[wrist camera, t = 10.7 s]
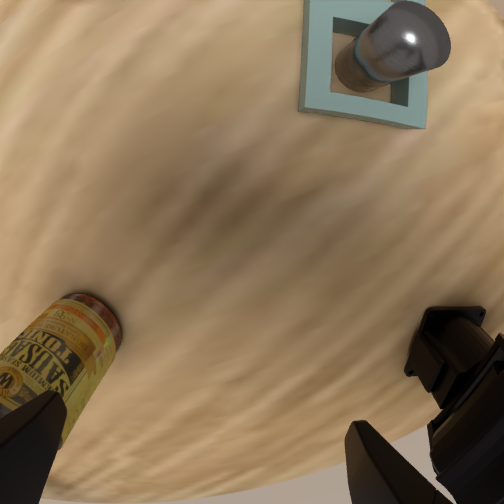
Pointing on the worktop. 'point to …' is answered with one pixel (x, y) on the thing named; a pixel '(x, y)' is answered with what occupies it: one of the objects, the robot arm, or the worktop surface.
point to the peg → (394, 48)
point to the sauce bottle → (60, 356)
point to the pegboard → (320, 58)
